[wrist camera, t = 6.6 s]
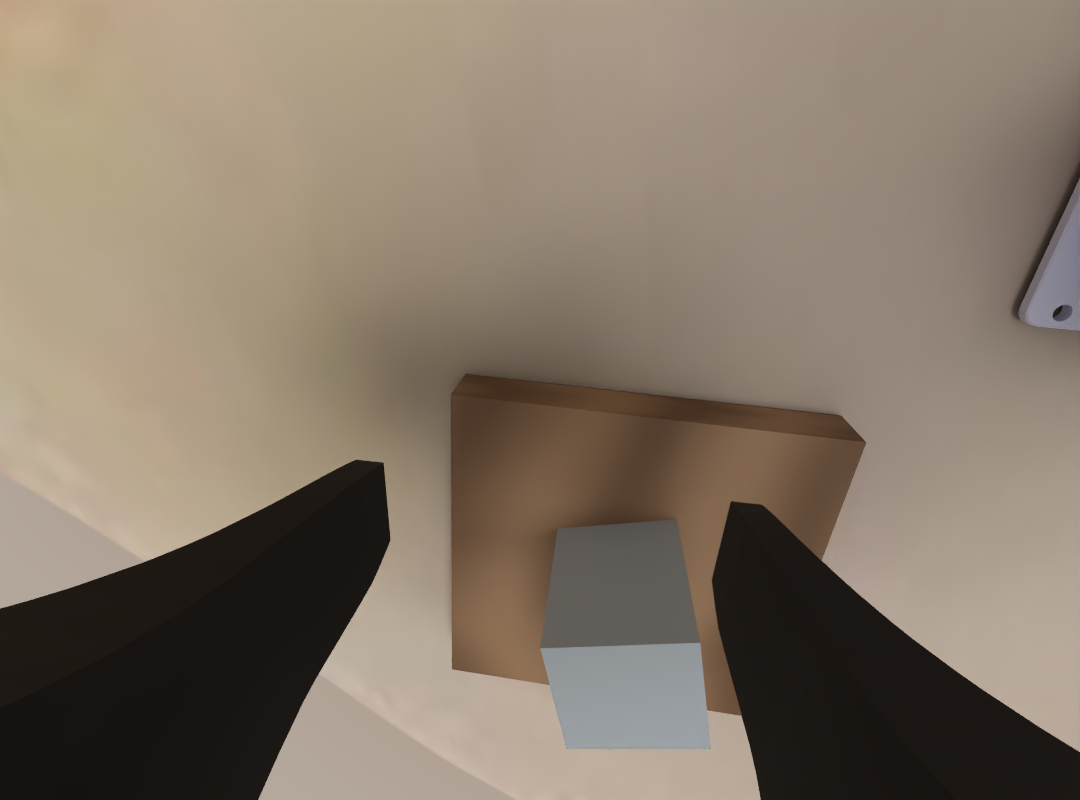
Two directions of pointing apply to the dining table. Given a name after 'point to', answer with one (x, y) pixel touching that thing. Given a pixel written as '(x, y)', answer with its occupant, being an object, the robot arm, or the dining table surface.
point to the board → (617, 499)
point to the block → (624, 639)
